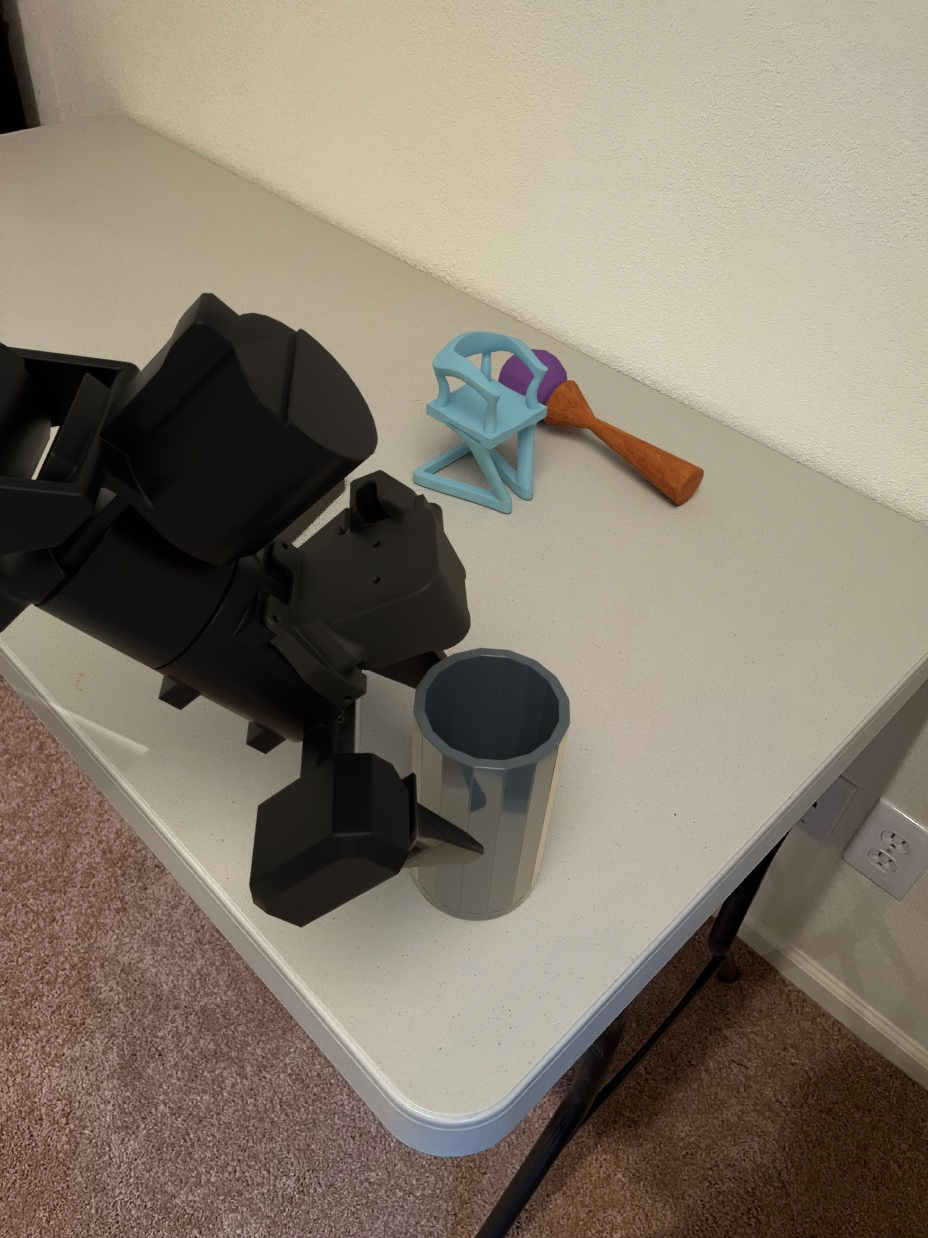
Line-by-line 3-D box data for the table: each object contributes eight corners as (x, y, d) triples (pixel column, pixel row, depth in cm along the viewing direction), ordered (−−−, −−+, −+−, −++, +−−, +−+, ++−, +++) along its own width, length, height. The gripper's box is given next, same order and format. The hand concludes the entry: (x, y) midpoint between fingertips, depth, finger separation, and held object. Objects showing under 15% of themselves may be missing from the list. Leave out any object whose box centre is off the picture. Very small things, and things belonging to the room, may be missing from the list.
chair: (488, 528, 69) (500, 387, 61) (410, 480, 73) (412, 341, 64) (551, 486, 73) (572, 349, 65) (475, 443, 77) (485, 308, 69)
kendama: (671, 480, 68) (483, 357, 76) (660, 532, 73) (484, 411, 81) (721, 439, 70) (533, 324, 79) (706, 492, 75) (531, 378, 83)
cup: (388, 886, 47) (385, 730, 38) (446, 790, 52) (456, 629, 43) (507, 943, 46) (534, 793, 36) (557, 838, 50) (592, 680, 41)
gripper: (324, 686, 24) (653, 882, 33) (343, 342, 37) (574, 546, 46) (89, 854, 29) (430, 987, 38) (179, 497, 42) (416, 656, 51)
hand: (469, 769), depth 43 cm, fingers open, 9 cm apart
